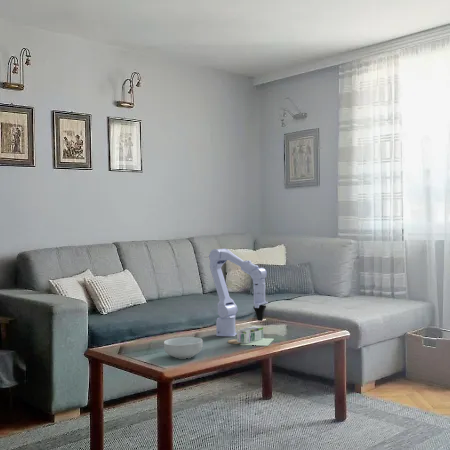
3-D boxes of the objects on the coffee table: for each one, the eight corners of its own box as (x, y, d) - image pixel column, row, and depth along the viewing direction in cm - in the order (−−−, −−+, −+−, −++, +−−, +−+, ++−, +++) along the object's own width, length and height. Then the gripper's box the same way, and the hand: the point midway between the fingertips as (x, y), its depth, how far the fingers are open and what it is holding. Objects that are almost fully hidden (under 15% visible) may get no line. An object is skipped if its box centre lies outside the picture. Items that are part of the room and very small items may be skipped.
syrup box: (263, 338, 282) (246, 343, 271) (253, 337, 286) (236, 342, 274) (263, 327, 282) (246, 331, 271) (253, 325, 286) (236, 330, 274)
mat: (240, 345, 270) (240, 344, 270) (247, 338, 286) (247, 337, 286) (267, 346, 267) (267, 345, 267) (273, 339, 282) (273, 338, 282)
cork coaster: (225, 343, 275) (225, 342, 275) (230, 340, 282) (230, 339, 282) (242, 344, 272) (242, 343, 272) (246, 340, 280) (246, 339, 280)
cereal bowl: (175, 351, 260) (175, 335, 260) (209, 354, 254) (208, 337, 254) (156, 360, 245) (156, 343, 245) (192, 363, 238) (191, 345, 238)
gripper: (264, 294, 275) (265, 323, 275) (270, 291, 289) (270, 318, 289) (250, 294, 277) (250, 323, 277) (256, 290, 291) (257, 318, 291)
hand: (260, 320), depth 283 cm, fingers closed
